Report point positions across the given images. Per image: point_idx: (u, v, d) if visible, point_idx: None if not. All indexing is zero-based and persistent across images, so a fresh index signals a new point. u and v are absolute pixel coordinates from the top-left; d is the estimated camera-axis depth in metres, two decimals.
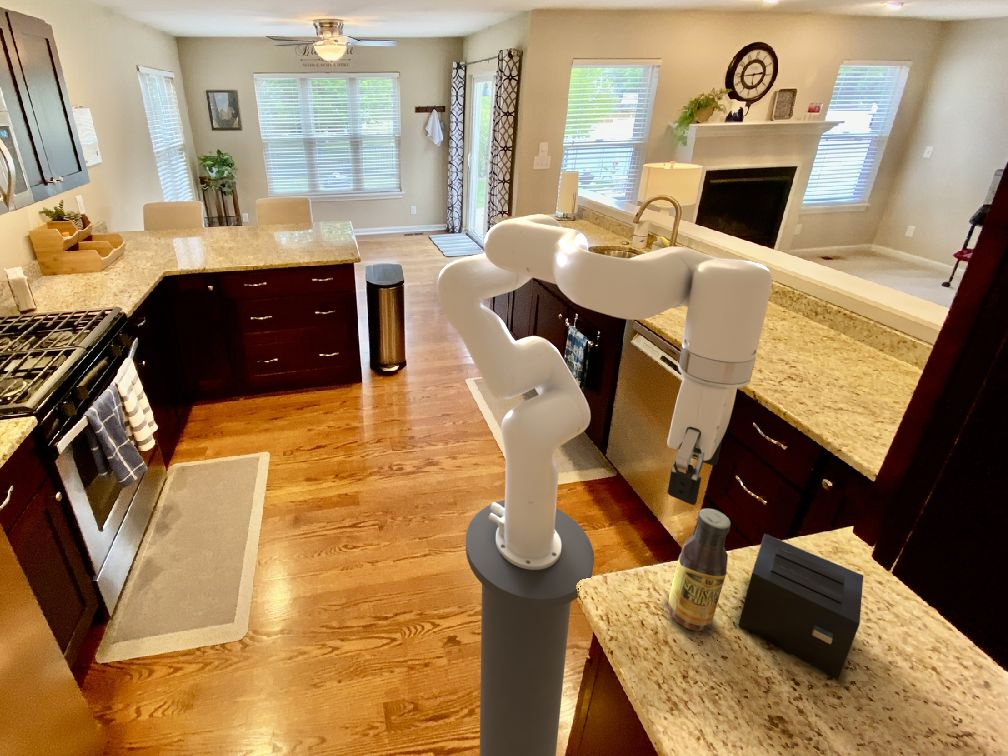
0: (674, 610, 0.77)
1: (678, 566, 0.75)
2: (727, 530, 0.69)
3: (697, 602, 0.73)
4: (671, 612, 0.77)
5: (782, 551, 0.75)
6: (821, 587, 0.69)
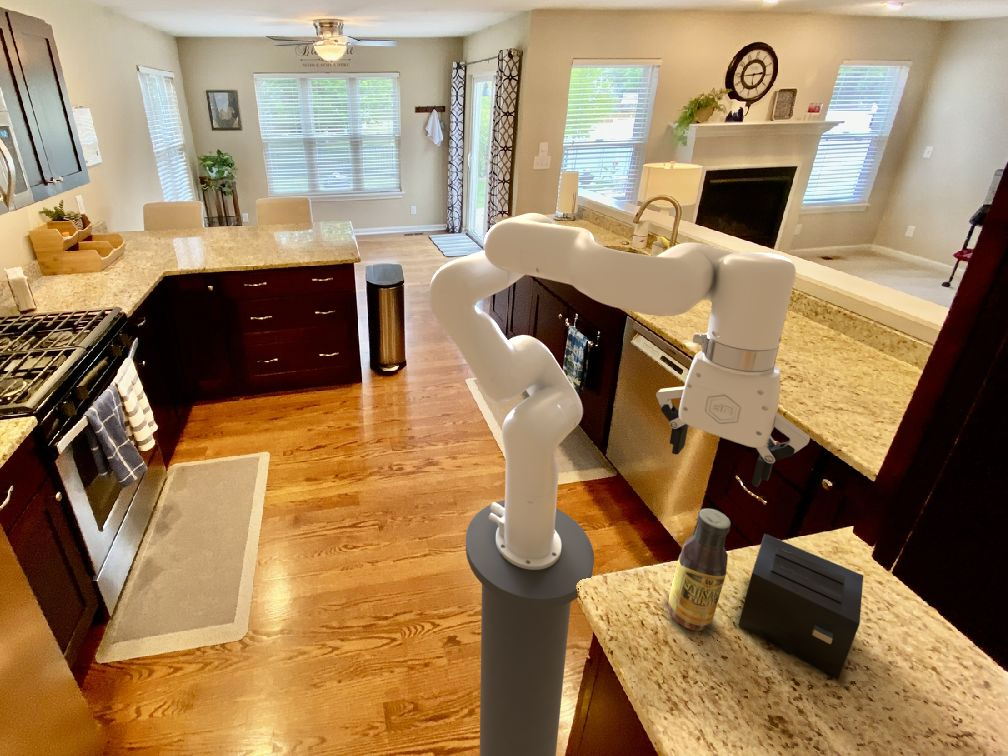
0: (674, 610, 0.77)
1: (678, 566, 0.75)
2: (727, 530, 0.69)
3: (697, 602, 0.73)
4: (671, 612, 0.77)
5: (782, 551, 0.75)
6: (821, 587, 0.69)
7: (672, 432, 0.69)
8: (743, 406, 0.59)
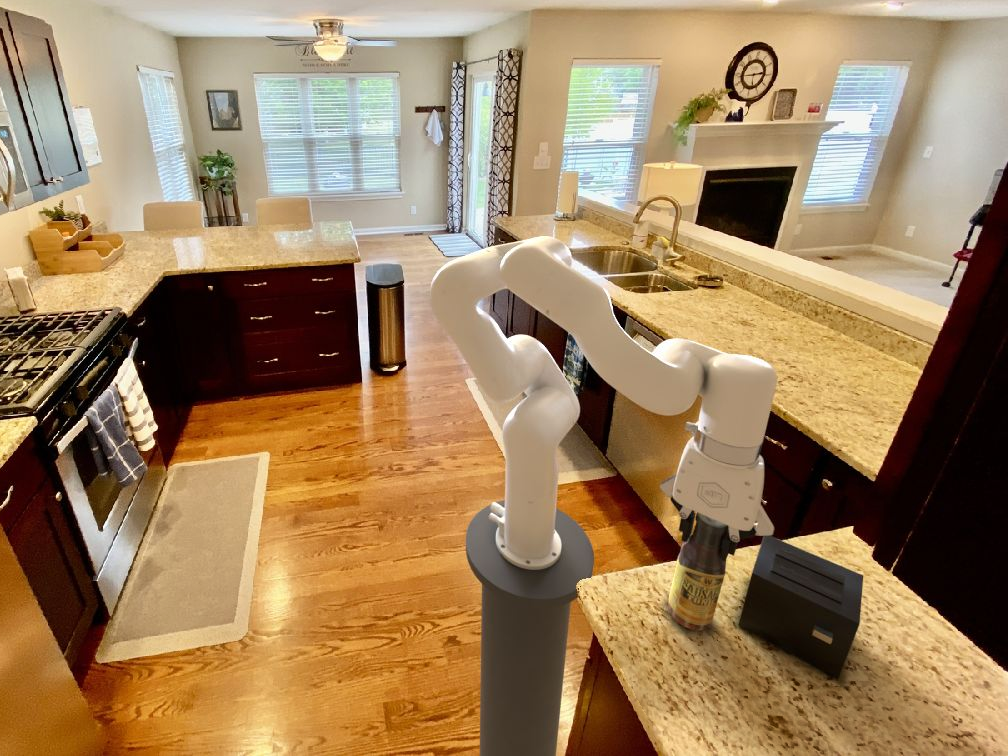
0: (674, 610, 0.77)
1: (677, 566, 0.75)
2: (726, 529, 0.70)
3: (697, 602, 0.73)
4: (671, 612, 0.77)
5: (782, 551, 0.75)
6: (821, 587, 0.69)
7: (681, 521, 0.73)
8: (732, 494, 0.65)
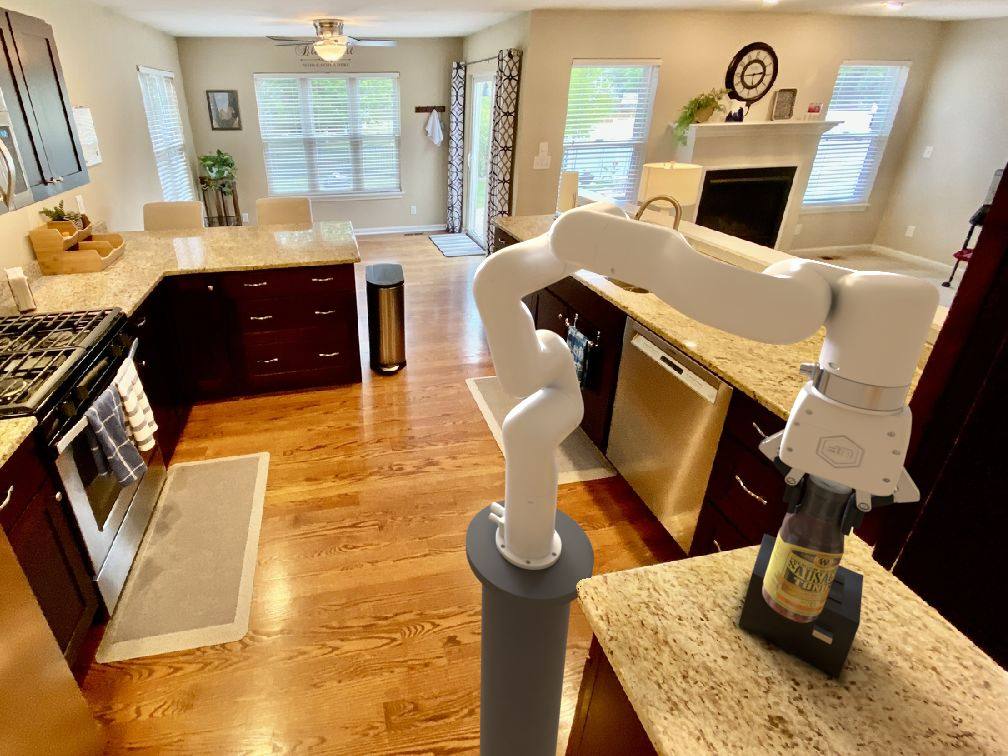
0: (772, 598, 0.63)
1: (779, 544, 0.62)
2: (849, 496, 0.56)
3: (807, 587, 0.59)
4: (768, 601, 0.64)
5: None
6: None
7: (787, 488, 0.60)
8: (867, 449, 0.52)
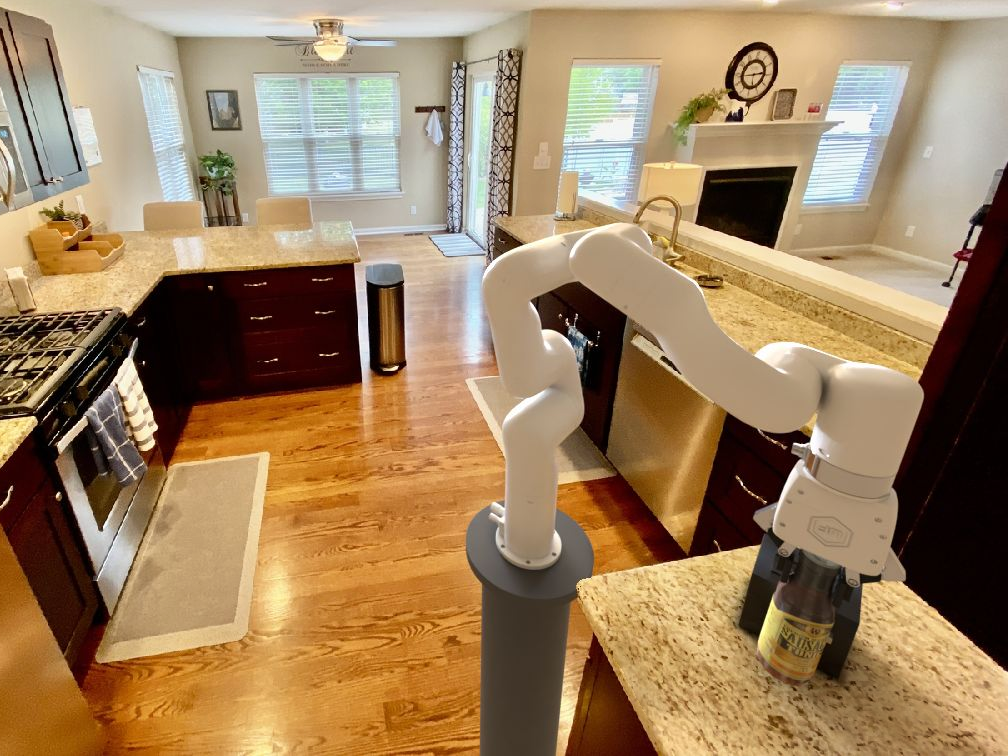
0: (766, 661, 0.65)
1: (773, 610, 0.64)
2: (839, 571, 0.59)
3: (799, 654, 0.62)
4: (762, 662, 0.66)
5: None
6: None
7: (780, 558, 0.62)
8: (856, 532, 0.54)
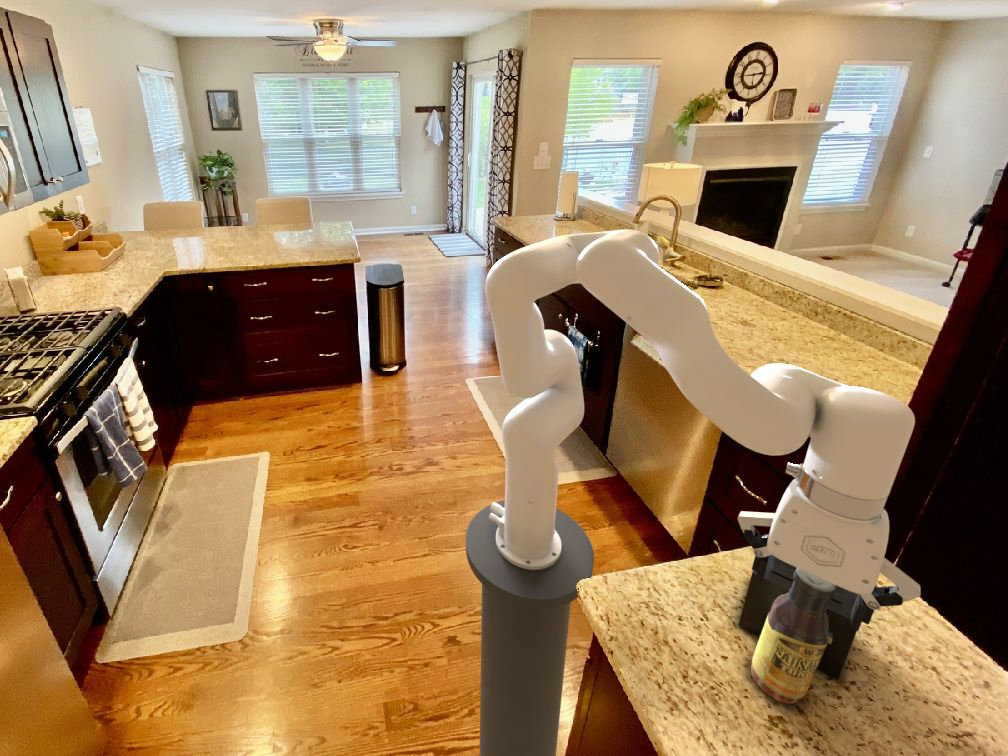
0: (760, 679, 0.67)
1: (767, 629, 0.65)
2: (833, 594, 0.60)
3: (792, 673, 0.63)
4: (756, 680, 0.67)
5: None
6: None
7: (755, 559, 0.64)
8: (848, 552, 0.55)
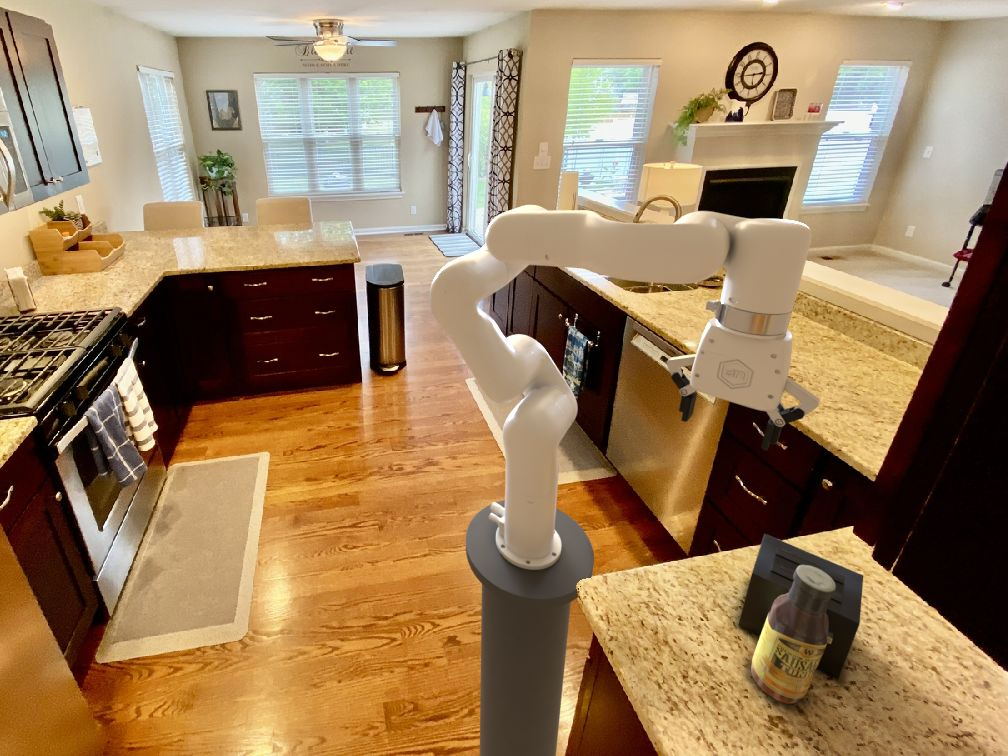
0: (760, 679, 0.67)
1: (767, 629, 0.65)
2: (833, 594, 0.60)
3: (792, 673, 0.63)
4: (756, 680, 0.67)
5: (782, 551, 0.75)
6: None
7: (682, 400, 0.70)
8: (756, 370, 0.61)
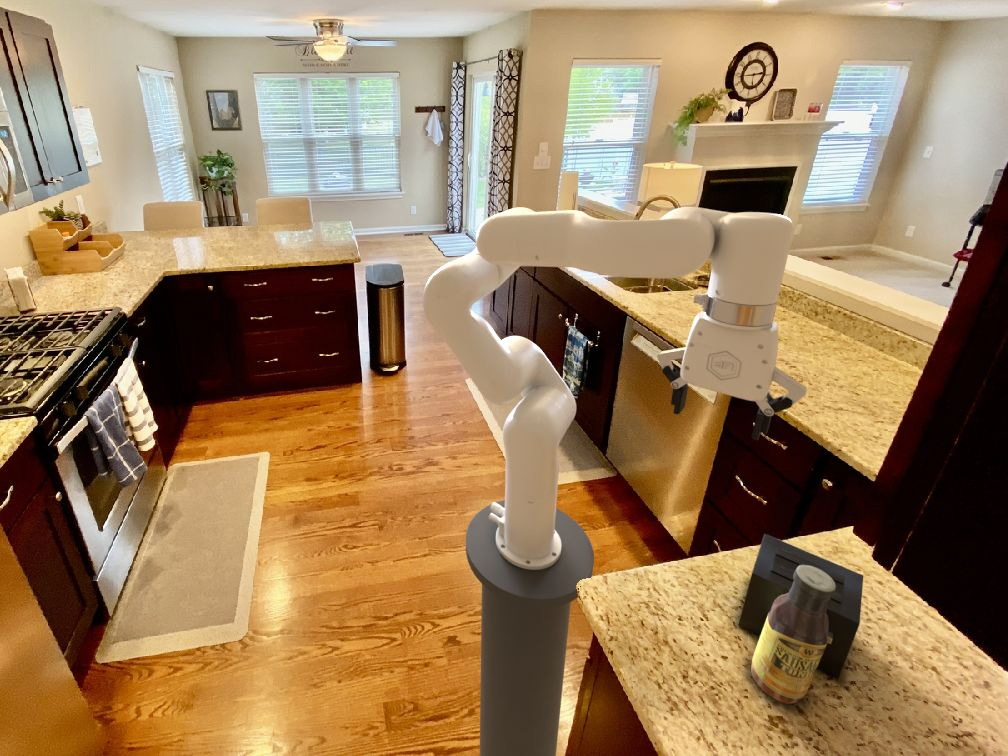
0: (760, 679, 0.67)
1: (767, 629, 0.65)
2: (833, 594, 0.60)
3: (792, 673, 0.63)
4: (756, 680, 0.67)
5: (782, 551, 0.75)
6: None
7: (673, 393, 0.71)
8: (744, 361, 0.62)
